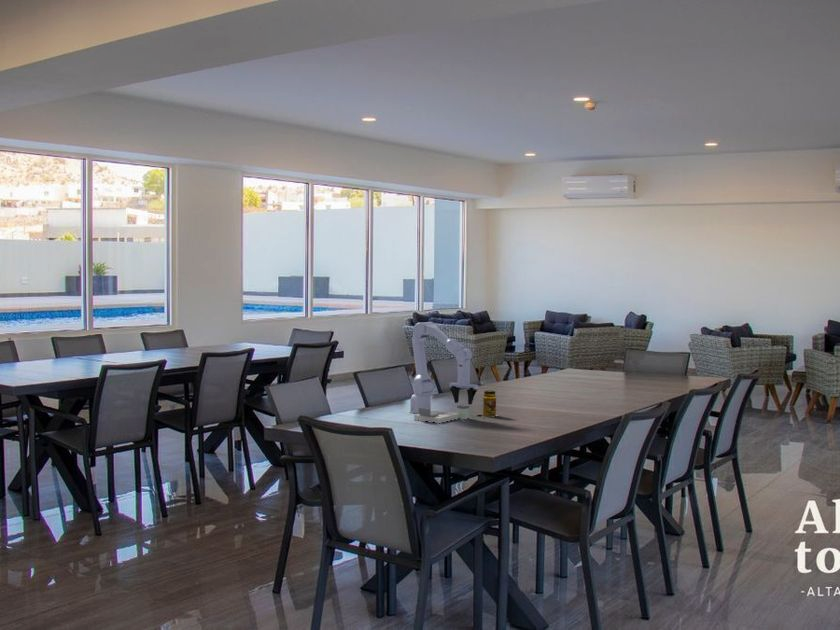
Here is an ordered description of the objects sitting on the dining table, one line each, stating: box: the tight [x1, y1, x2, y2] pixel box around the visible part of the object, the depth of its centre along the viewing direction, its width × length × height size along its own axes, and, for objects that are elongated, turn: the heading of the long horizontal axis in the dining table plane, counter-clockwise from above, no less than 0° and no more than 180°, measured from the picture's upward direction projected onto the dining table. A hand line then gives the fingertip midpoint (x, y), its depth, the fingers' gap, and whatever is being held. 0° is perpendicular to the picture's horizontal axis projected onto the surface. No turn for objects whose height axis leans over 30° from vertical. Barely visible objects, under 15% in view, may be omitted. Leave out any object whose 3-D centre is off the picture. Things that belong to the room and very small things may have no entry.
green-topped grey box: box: [456, 404, 470, 420], centre depth 393 cm, size 4×4×6 cm
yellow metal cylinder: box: [482, 390, 499, 418], centre depth 401 cm, size 7×8×12 cm
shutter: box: [419, 408, 439, 417], centre depth 384 cm, size 6×7×4 cm
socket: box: [413, 410, 459, 424], centre depth 389 cm, size 14×16×2 cm
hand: (463, 403), depth 392 cm, fingers open, 7 cm apart
